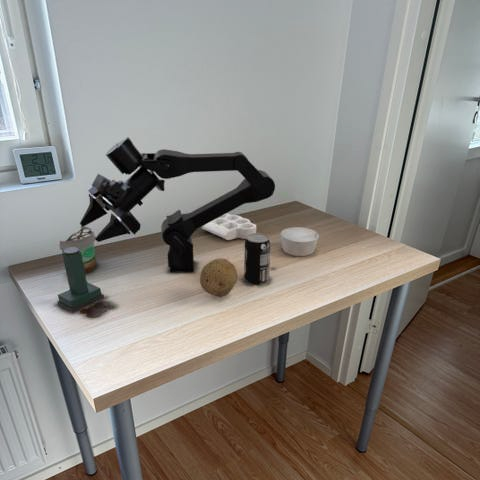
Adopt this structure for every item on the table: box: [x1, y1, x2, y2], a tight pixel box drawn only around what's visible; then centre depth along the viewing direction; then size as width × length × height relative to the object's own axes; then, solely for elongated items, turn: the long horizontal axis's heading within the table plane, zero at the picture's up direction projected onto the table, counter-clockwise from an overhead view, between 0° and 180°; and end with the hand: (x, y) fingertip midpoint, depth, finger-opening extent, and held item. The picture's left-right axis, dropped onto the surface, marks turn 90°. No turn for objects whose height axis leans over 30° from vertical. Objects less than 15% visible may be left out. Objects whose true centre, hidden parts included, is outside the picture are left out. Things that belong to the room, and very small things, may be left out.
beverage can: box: [243, 232, 272, 286], centre depth 120 cm, size 7×7×12 cm
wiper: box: [56, 247, 105, 314], centre depth 109 cm, size 9×6×13 cm, turn 142°
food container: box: [59, 225, 97, 274], centre depth 125 cm, size 12×6×10 cm, turn 168°
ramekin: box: [280, 226, 320, 257], centre depth 138 cm, size 11×11×5 cm
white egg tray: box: [201, 213, 257, 241], centre depth 151 cm, size 3×18×15 cm
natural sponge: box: [199, 257, 238, 298], centre depth 112 cm, size 9×9×10 cm
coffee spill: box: [79, 300, 115, 319], centre depth 110 cm, size 7×6×1 cm
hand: (88, 232), depth 113 cm, fingers open, 9 cm apart
